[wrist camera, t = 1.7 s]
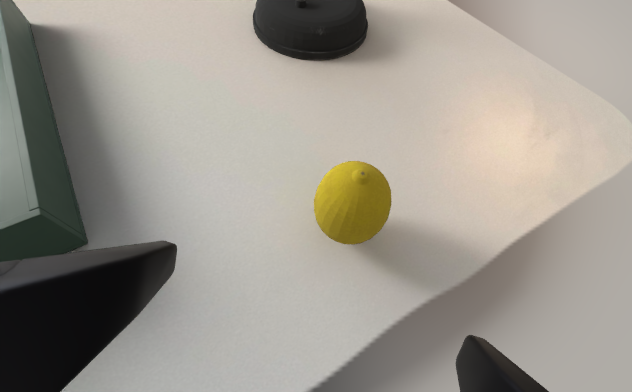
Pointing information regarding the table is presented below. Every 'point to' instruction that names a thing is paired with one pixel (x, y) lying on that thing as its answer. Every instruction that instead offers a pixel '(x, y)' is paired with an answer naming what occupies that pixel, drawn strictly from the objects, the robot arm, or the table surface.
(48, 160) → the green rectangular tray
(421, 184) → the table surface
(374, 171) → the lemon
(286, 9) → the desk lamp
